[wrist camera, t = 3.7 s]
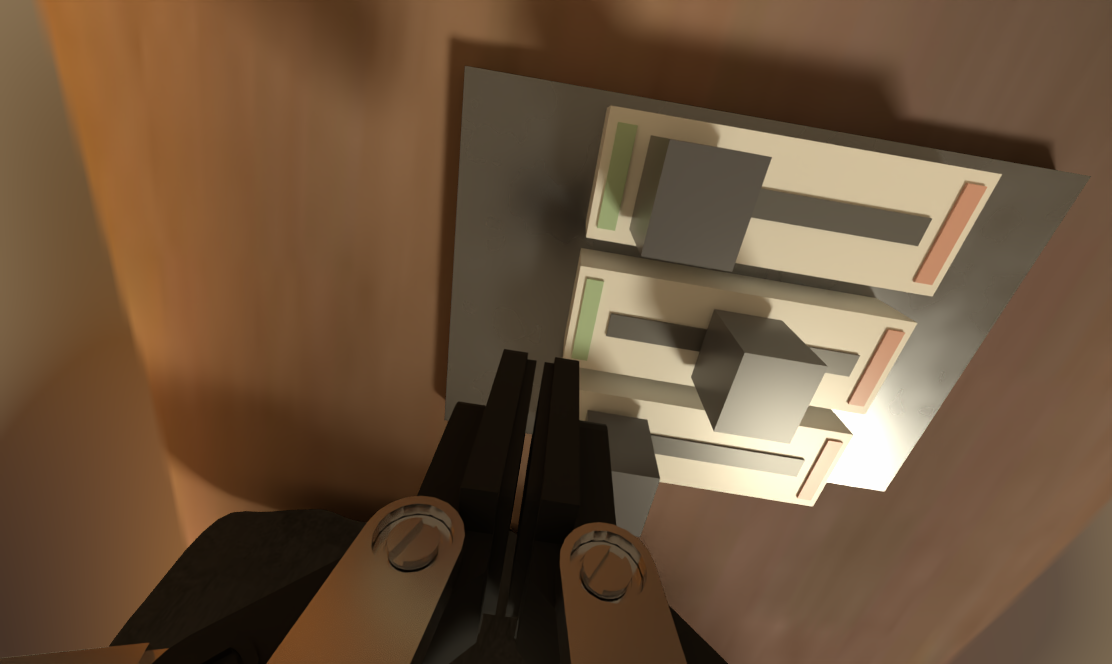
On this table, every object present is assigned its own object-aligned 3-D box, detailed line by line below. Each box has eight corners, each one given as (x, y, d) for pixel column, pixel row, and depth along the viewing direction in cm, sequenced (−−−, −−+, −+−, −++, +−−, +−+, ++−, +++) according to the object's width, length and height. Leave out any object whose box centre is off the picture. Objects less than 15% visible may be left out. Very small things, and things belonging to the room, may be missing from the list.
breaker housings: (789, 467, 22) (813, 508, 19) (547, 428, 21) (543, 464, 19) (943, 166, 15) (1005, 174, 13) (606, 107, 15) (610, 105, 13)
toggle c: (702, 241, 14) (732, 272, 11) (629, 228, 14) (641, 256, 11) (730, 148, 13) (772, 156, 10) (650, 135, 13) (669, 139, 10)
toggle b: (753, 387, 17) (789, 443, 14) (690, 377, 16) (713, 431, 14) (782, 320, 15) (828, 366, 12) (714, 308, 15) (744, 352, 12)
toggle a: (631, 472, 19) (639, 537, 16) (574, 463, 19) (573, 526, 16) (647, 419, 17) (660, 479, 15) (587, 409, 17) (588, 467, 14)
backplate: (870, 473, 23) (884, 491, 22) (451, 405, 23) (444, 419, 21) (1057, 172, 16) (1090, 176, 15) (472, 69, 16) (464, 65, 15)
